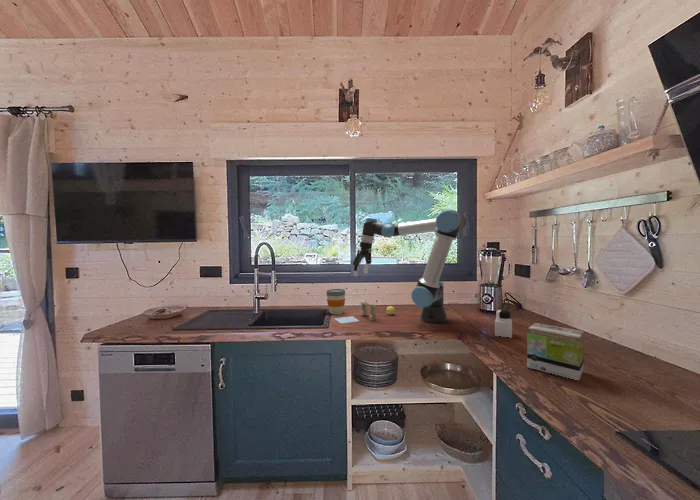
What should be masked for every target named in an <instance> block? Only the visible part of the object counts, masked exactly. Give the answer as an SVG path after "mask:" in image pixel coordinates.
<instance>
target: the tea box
mask: <svg viewBox="0 0 700 500" xmlns="http://www.w3.org/2000/svg"><path fill="white" fill-rule="evenodd" d="M526 337H527V339H526V341H527V342H526V345H527V349H526V350H527V351H526V354H527V355H526V358H527V360H526V365H527V369H528V368H529V369H533V370H537V371H541V372H543V373H547V374H551V373H552V374H551V375H554V374H555V375H554V376H558V375H559V376H558V377H561V376H562V377H561V378H565V377H566V378H565V379H568V378H570V379H569V380H571V379H574V380H573V381H575V380H579V381H580V379H581V377H582V375H583V372H584V362H585V361H584V359H585V356H584V353H585V352H584V350H585V343H584V342H585V331H584V330H578V329H573V328H568V327H561V326H557V325H549V324H544V323H539V322H538V323H537V322H533V324H532V325H530V326H529V327H528V328H527V336H526Z"/></svg>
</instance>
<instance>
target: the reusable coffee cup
mask: <svg viewBox="0 0 700 500" xmlns="http://www.w3.org/2000/svg"><path fill="white" fill-rule="evenodd" d="M345 296H346V290H345V289H341V288H332V289H331V288H330V289H327V290H326V297H327V299H326V301H327V306H328V311H329V314H330V313H331V314H330V315H341V314H343V313H344V307H345V303H346V297H345Z"/></svg>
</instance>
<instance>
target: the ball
mask: <svg viewBox="0 0 700 500" xmlns="http://www.w3.org/2000/svg"><path fill="white" fill-rule="evenodd" d="M385 311H386V314H388V315H389V316H392V315H394V314H395V312H396V308H395V307H394V306H392V305H389V306H387V307H386V310H385Z"/></svg>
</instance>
